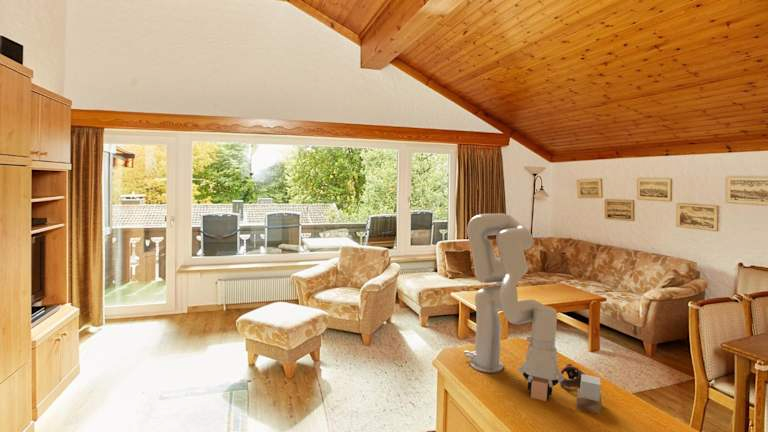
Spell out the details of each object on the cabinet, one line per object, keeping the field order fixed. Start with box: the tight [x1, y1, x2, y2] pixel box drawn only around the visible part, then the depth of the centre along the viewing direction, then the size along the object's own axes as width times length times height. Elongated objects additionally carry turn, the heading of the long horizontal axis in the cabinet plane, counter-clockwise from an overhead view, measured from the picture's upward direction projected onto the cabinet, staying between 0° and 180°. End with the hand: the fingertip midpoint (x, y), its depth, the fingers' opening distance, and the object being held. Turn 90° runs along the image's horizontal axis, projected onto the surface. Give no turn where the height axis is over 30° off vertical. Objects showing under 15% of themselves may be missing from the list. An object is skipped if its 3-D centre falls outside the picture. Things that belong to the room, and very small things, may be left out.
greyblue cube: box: [579, 373, 602, 401], centre depth 136 cm, size 6×6×6 cm
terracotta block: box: [530, 376, 549, 402], centre depth 142 cm, size 5×5×6 cm
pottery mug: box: [559, 363, 586, 388], centre depth 151 cm, size 12×10×8 cm
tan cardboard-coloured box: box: [575, 387, 603, 415], centre depth 137 cm, size 7×7×4 cm
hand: (539, 393), depth 143 cm, fingers closed on terracotta block, 5 cm apart
